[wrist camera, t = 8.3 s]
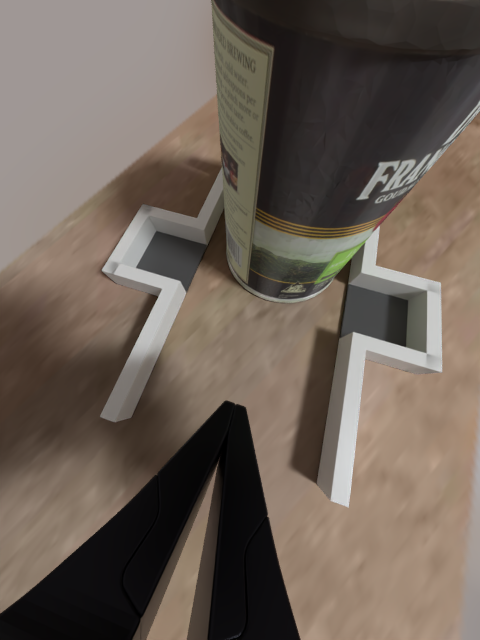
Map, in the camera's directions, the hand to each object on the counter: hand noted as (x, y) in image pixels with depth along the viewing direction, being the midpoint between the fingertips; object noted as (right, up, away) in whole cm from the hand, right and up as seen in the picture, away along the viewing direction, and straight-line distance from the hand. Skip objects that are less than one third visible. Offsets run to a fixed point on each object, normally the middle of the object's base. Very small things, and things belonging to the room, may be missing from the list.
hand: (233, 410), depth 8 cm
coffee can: (+4, +10, +11) cm, 15 cm away
